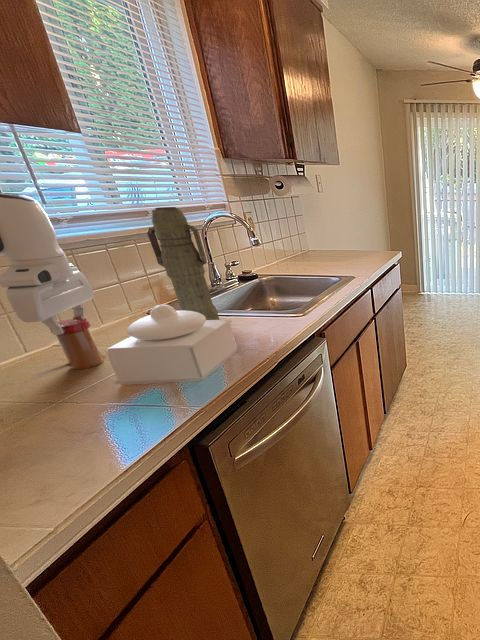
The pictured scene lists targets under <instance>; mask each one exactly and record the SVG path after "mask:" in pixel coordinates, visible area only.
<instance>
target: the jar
mask: <svg viewBox="0 0 480 640" xmlns="http://www.w3.org/2000/svg"><path fill="white" fill-rule="evenodd" d="M55 337H56V339H57V341H58V344H59V345H60V346H59V347H61V349H62V352H63V354H64V356H65V358H66V361H67V363H68V364H69V367H70V368H71V369H72V370H84V369H89V368H93V367H96V366H99V365H101V364H102V363H104V358H103V356H102V354H101V352H100V349H99V347H98V344H97V342H96V340H95V338H94V336H93V333H92V331H91V329H90V327H89V328H87V329H85V330H82V331H78V332H74V333H68V334H61V335H55Z"/></svg>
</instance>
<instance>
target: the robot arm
mask: <svg viewBox="0 0 480 640" xmlns="http://www.w3.org/2000/svg"><path fill="white" fill-rule="evenodd" d="M2 256H5V257H6V258H7V260H8V262H9V263H10V265H9V266H8V267H7V269H6V270H5V271H4V272H3V273H1V274H0V287H1V288H7V289H6V291H5V294H6V299H7V300H8V302H9V304H10V306H11V308H12V310H13V312H14V313H15V315H16V317H17V318H18V319H19V320H20V321H22V322H24V323H37V322H38V323H39V322H41V323H42V324H43V325H45V326H46V327H48V328H49V330H50V329H51V330H50V332H51V331H52V332H51V334H53V335H55V336H56V335H61V334H63V333H65V332H66V329H65V327H64V325H60V324H59V323H58V322H59V321H58V317H57V315H60V314H62V313H64V312H66V311H69V310H72V311H73V317H72V319H75V318H86V319H87V317H86V305H85V303H87V302H89V301H91V300H94V298H95V292H94V290H93V288H92V286H91V284H90V282H89V280H88V279H87V277H86V276H85V274H84V273H82V271H80V270H79V268H78V267H77V266H75V265H73V264H72V263H70V261H69V259H68V258H67V256H66V253H65V251H64V250H63V249H62V248H61V247H60V245H59V242H58V236H57V232H56V230H55V229H54V226H53V224H52V221H50V218H49V217H48V214H47V213H46V211H45V210H44V207H42V205H41V204H40V203H39V202H38V201H37V200H36V199H34V198H33V197H31V196H28V195H25V194H20V193H13V192H0V257H2Z"/></svg>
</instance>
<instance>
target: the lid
mask: <svg viewBox="0 0 480 640" xmlns="http://www.w3.org/2000/svg"><path fill="white" fill-rule="evenodd" d="M57 322H58V323H59V324H60V325H64V327H65V329H66V332H65V333H63V334H68V333H74V332H78V331H82V330H85V329H87V328H89V329H90V327H91V324H90V322H89V320H88V318H87V317H86V318H75V319H73V318H69V319H63V320H59V321H57ZM49 331H50V333H52V331H51V329H50V328H49Z"/></svg>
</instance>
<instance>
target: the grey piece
mask: <svg viewBox="0 0 480 640" xmlns="http://www.w3.org/2000/svg"><path fill="white" fill-rule="evenodd" d="M151 223H152V227H149V228H148V230H147V233H146V234H147V237H148V240H149V242H150V244H151V247H152V250H153V252H154V254H155V257H156V261H157V264H158V265H159V266H161V267H163V268H164V270H165V273H166V276H167V277H168V278H169V279H170V281H171V285H172V287H173V290H174V293H175V295H176V299H177V302H178V305H179V308H180V310H184V311H194V312H198V313H201V314H202V315H204V316H205V317H206V320H221V319H220V316H219V313H218V310H217V307H216V306H215V305H214V303H213V301H212V297H211V294H210V291H209V288H208V284H207V281H206V277H205V272H206V271H205V268H204V265H207V264H208V262H207V261H208V260H207V257H206V253H205V250H204V246H203V242H202V239H201V236H200V232H199V230H198V229H197V227H195V225H191V224H189V223H188V219H187V218H186V216H185V214H184V213H183V211H182V210H181V208H178V207H176V206H163V207H161V206H160V207H154V209H151ZM191 232H192V233H193V236H194V240H195V243H196V245H195V243H194V242H193V239H192V238H193V236H192V233H191ZM196 246H197V247H196Z"/></svg>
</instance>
